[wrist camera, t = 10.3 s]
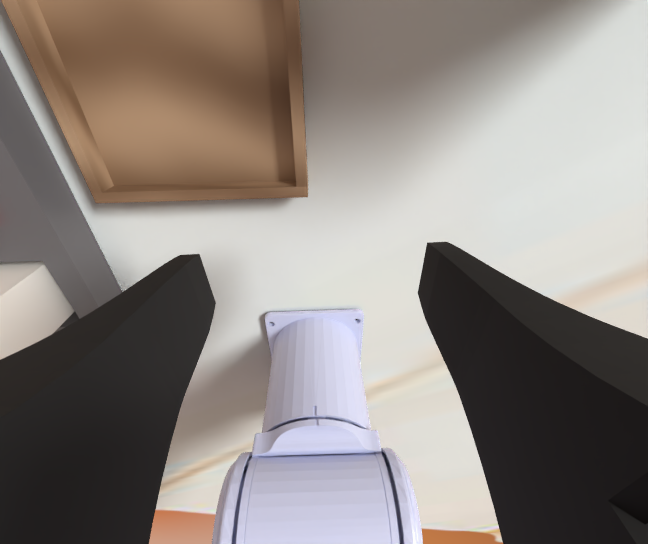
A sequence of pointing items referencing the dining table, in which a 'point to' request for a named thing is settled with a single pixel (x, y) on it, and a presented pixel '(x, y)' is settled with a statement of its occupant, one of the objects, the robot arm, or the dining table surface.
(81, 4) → the tray
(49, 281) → the white plug
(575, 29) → the dining table surface
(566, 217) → the dining table surface
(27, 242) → the power strip
